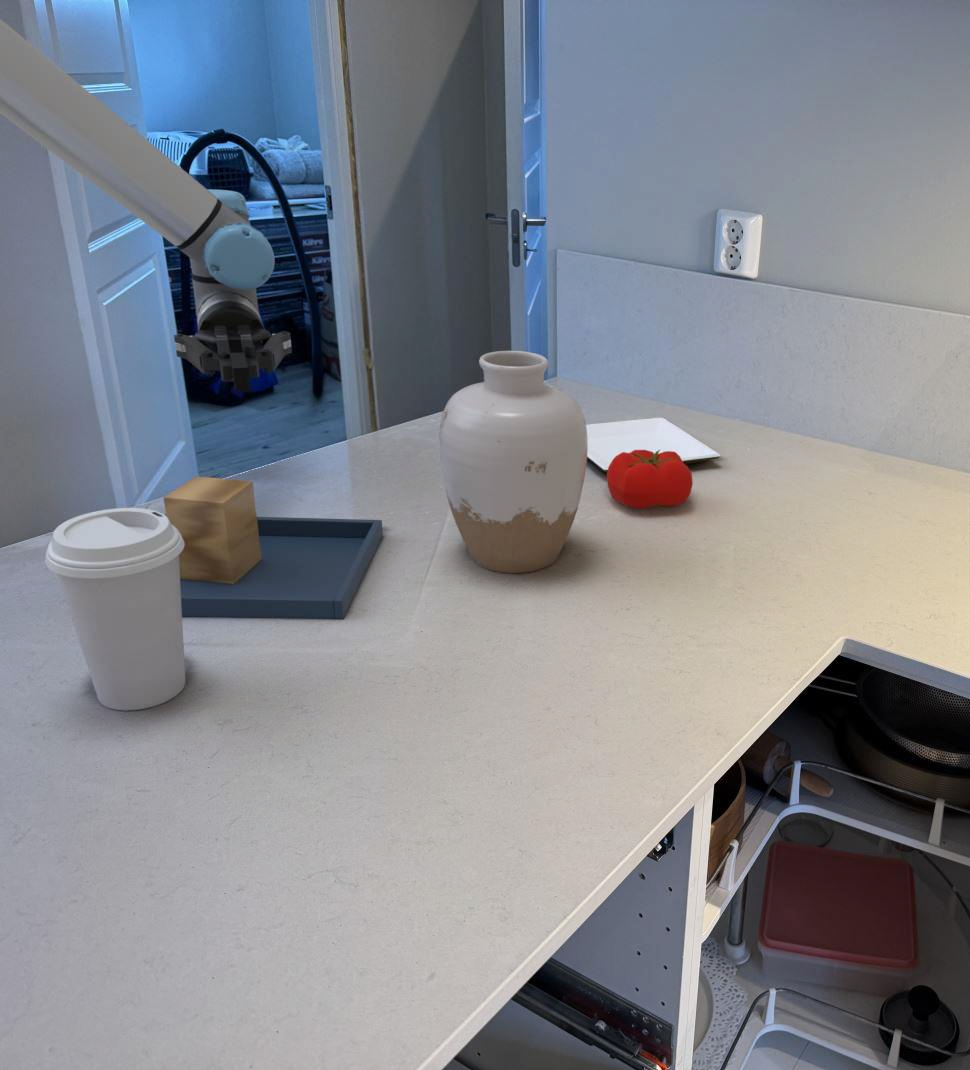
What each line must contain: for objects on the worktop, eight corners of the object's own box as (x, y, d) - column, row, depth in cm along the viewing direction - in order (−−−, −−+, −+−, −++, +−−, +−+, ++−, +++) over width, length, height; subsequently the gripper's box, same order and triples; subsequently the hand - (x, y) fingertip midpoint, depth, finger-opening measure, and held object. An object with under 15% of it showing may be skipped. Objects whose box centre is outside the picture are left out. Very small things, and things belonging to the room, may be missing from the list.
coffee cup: (215, 702, 83) (190, 539, 77) (81, 734, 78) (43, 562, 72) (195, 649, 90) (171, 496, 84) (71, 675, 85) (36, 515, 79)
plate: (603, 482, 136) (604, 468, 135) (553, 440, 150) (553, 427, 149) (720, 467, 145) (722, 454, 144) (662, 429, 159) (663, 416, 158)
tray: (83, 619, 93) (78, 596, 92) (165, 534, 111) (162, 513, 110) (343, 623, 96) (341, 600, 95) (383, 539, 114) (381, 519, 113)
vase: (516, 516, 123) (515, 333, 114) (613, 554, 115) (620, 362, 106) (413, 555, 111) (402, 354, 102) (513, 601, 103) (511, 388, 94)
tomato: (699, 514, 128) (703, 466, 125) (617, 519, 124) (619, 471, 122) (676, 486, 136) (679, 441, 134) (598, 491, 133) (600, 445, 130)
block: (176, 579, 101) (162, 497, 97) (207, 554, 106) (195, 475, 102) (234, 584, 101) (223, 502, 97) (262, 559, 106) (252, 481, 102)
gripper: (290, 357, 129) (309, 410, 110) (177, 361, 124) (178, 417, 105) (284, 299, 126) (303, 343, 107) (168, 300, 121) (167, 347, 102)
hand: (241, 380), depth 106 cm, fingers closed
